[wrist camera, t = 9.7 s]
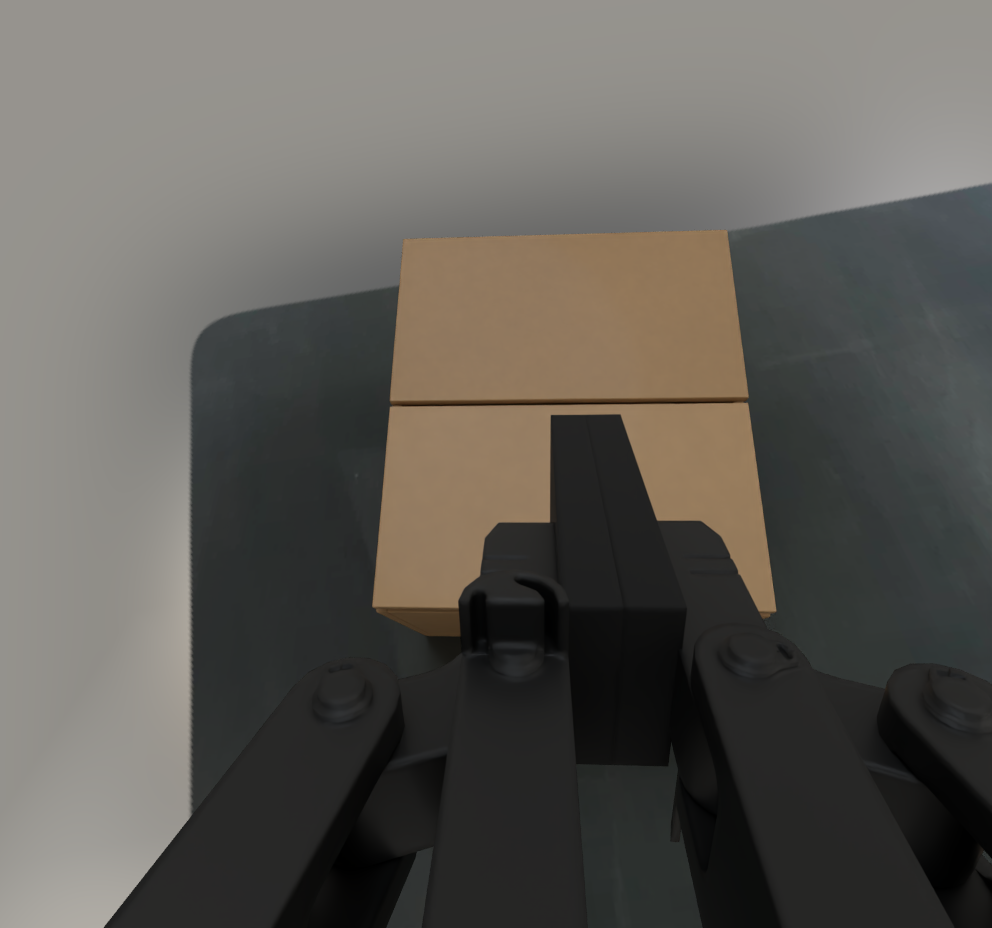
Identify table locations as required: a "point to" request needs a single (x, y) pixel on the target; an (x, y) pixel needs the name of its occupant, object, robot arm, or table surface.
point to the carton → (564, 329)
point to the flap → (526, 488)
